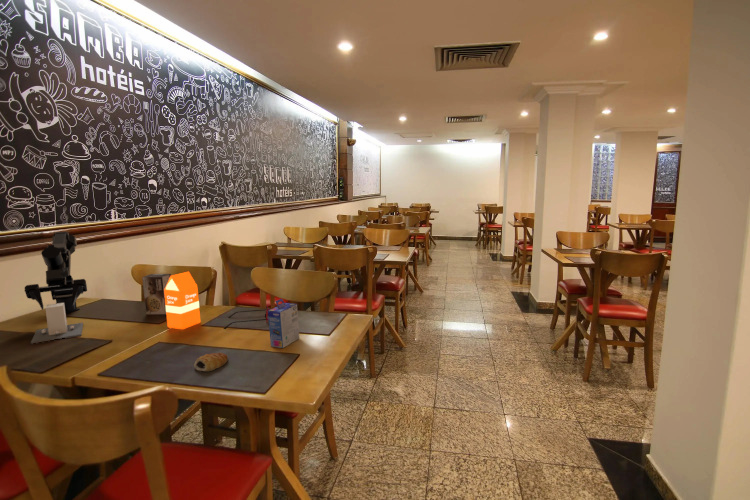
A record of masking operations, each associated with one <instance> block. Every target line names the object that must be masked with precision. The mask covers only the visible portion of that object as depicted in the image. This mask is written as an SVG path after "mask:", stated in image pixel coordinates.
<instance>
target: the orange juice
mask: <svg viewBox="0 0 750 500" xmlns="http://www.w3.org/2000/svg"><path fill="white" fill-rule="evenodd" d="M164 294H165V304H166V305H165V306H166V314H165V315H166V323H167V328H170V329H176V330H185V329H187V328H190V327H193V326H195V325H199V324H200V323H201V312H200V300H199V290H198V284H197V283H196V281H195V279H194V277H193V276H192V274H191V272H190V271H185V272H181V273H176V274H171V276H170V278H169V281H168V283H167V285H166V287H165V289H164Z"/></svg>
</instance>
